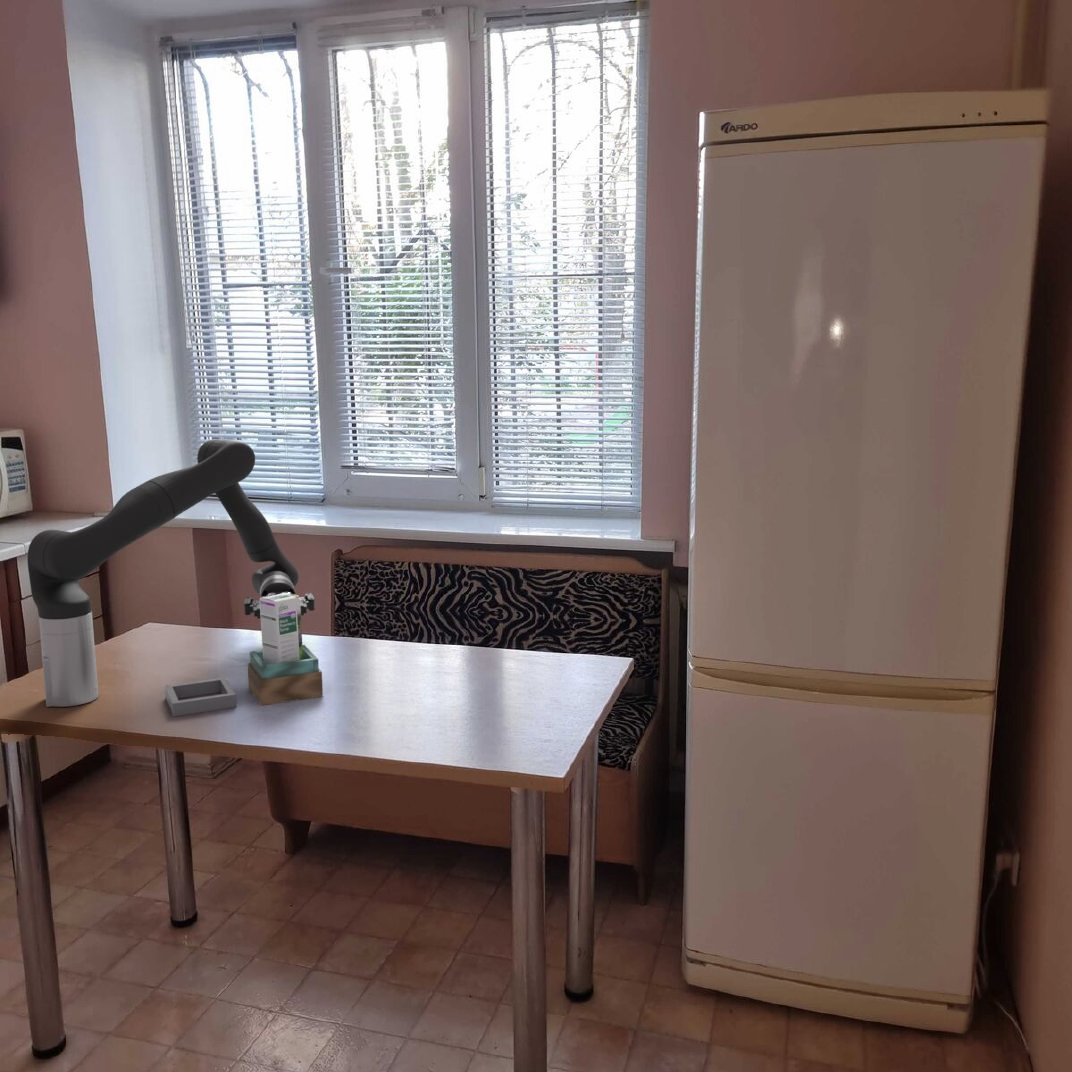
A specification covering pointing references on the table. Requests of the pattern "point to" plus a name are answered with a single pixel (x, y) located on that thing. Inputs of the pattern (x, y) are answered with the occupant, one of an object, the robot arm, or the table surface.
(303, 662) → the raised dock
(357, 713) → the table surface
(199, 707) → the low ring
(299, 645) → the syrup box
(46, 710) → the table surface
